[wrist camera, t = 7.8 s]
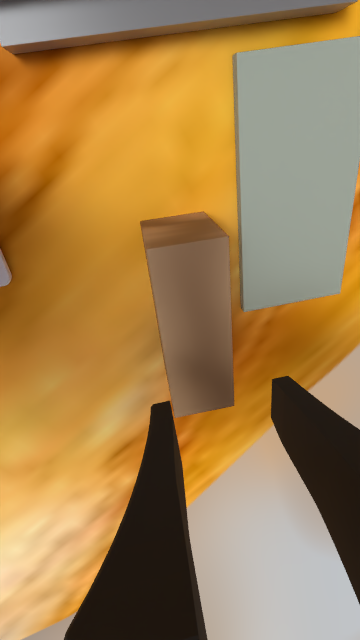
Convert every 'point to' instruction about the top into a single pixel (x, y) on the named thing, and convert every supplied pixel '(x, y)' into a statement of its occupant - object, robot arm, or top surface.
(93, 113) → the top surface
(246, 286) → the mat
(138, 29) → the switch panel
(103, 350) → the top surface
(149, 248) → the brown rectangular block
